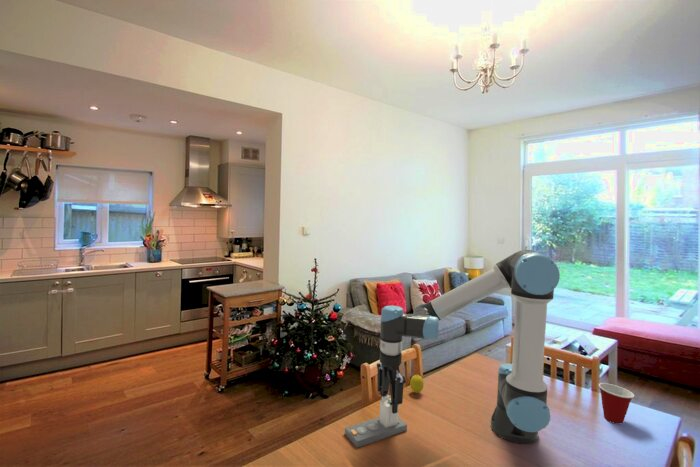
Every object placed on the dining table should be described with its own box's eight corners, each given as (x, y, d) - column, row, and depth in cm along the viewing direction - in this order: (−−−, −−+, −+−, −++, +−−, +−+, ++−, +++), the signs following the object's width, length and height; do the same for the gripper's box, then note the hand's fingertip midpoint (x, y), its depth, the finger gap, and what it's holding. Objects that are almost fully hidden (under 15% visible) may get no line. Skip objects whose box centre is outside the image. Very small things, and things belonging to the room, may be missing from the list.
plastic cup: (640, 428, 127) (642, 396, 127) (612, 428, 126) (614, 396, 126) (615, 411, 138) (617, 381, 137) (589, 411, 137) (591, 382, 137)
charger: (397, 428, 121) (398, 400, 121) (385, 432, 119) (386, 404, 118) (391, 422, 125) (391, 395, 124) (379, 426, 122) (380, 398, 122)
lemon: (413, 397, 145) (414, 378, 144) (407, 390, 150) (408, 372, 150) (425, 395, 146) (426, 377, 146) (419, 389, 152) (420, 371, 151)
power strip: (406, 433, 121) (407, 422, 120) (356, 450, 111) (357, 439, 111) (393, 420, 128) (393, 411, 127) (344, 436, 118) (345, 425, 118)
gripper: (368, 344, 126) (366, 408, 127) (396, 362, 111) (394, 434, 112) (385, 341, 129) (383, 403, 131) (415, 358, 115) (413, 427, 116)
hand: (388, 417), depth 121 cm, fingers closed on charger, 4 cm apart
